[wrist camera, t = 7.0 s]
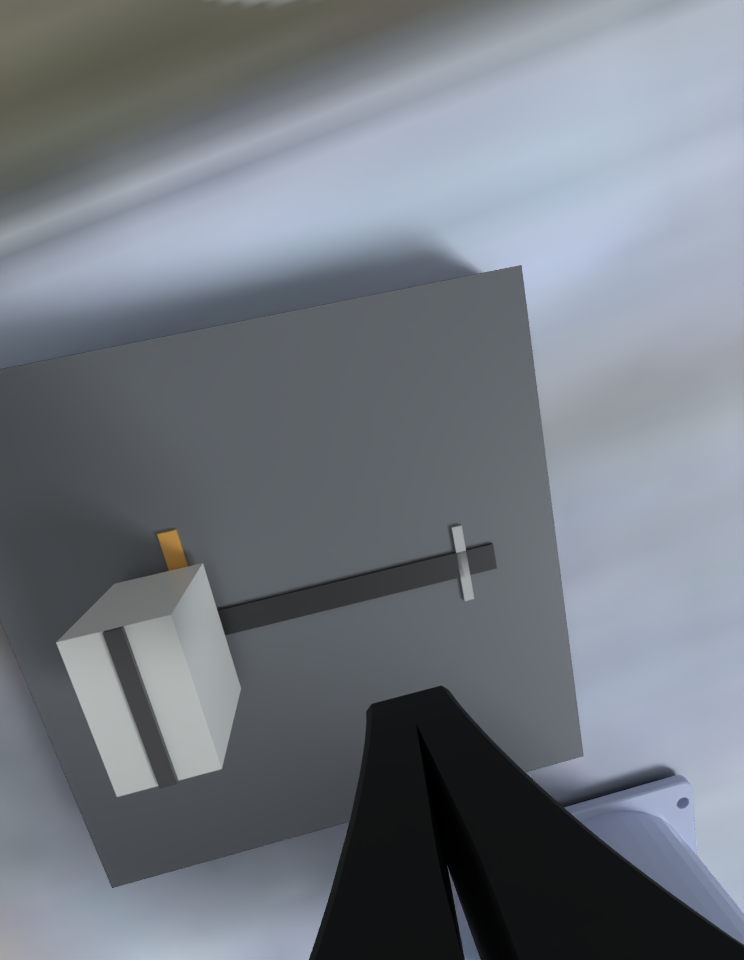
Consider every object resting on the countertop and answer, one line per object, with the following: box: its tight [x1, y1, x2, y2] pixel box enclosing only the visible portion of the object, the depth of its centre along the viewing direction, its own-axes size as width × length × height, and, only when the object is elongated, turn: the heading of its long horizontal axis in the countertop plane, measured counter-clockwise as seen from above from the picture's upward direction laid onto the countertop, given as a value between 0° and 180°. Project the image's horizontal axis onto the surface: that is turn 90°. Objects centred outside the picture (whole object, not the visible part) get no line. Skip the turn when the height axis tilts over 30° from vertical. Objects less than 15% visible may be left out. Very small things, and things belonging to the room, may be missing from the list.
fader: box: [56, 563, 241, 797], centre depth 12 cm, size 4×2×3 cm, turn 12°
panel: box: [0, 265, 583, 888], centre depth 15 cm, size 16×16×2 cm
